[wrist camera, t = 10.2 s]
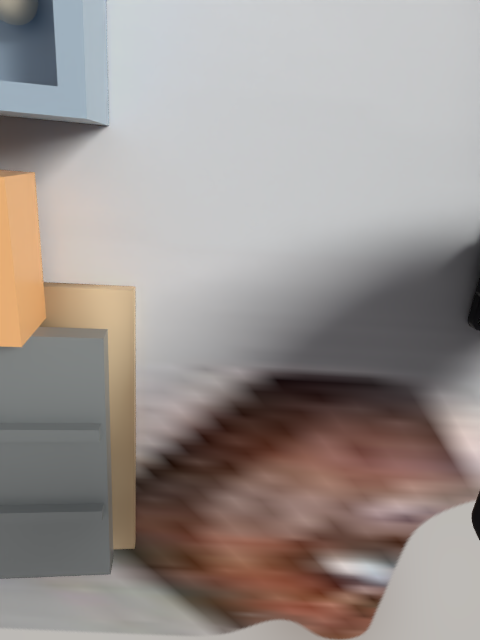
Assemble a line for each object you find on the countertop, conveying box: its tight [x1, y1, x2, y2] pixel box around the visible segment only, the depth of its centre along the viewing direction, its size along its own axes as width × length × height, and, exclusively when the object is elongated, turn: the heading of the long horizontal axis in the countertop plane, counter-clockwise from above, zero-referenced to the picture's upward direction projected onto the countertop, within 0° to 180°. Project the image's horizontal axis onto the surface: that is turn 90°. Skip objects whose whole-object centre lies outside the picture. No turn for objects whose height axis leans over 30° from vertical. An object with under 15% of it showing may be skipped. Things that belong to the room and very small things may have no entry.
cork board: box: [39, 282, 136, 549], centre depth 21 cm, size 11×15×1 cm
